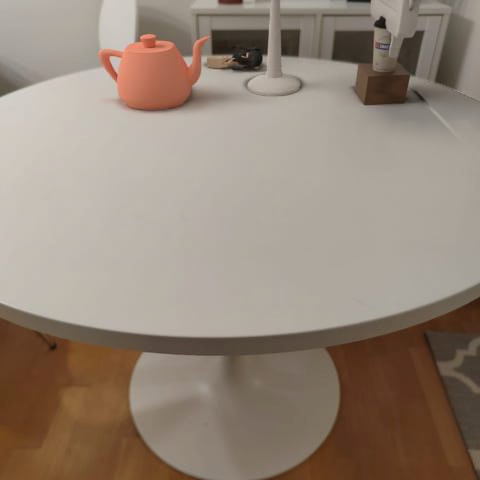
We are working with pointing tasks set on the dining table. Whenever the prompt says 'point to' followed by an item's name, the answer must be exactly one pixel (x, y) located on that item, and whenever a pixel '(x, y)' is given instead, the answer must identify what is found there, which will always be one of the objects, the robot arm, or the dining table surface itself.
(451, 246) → the dining table surface
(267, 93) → the candlestick
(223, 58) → the toy figure
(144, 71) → the teapot
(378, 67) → the coffee cup
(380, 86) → the walnut block
